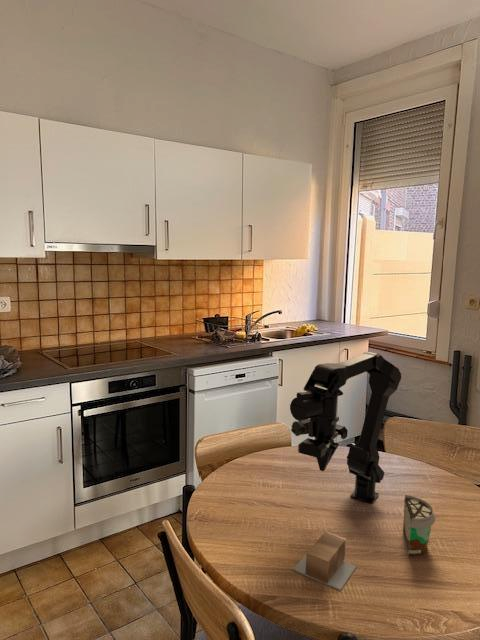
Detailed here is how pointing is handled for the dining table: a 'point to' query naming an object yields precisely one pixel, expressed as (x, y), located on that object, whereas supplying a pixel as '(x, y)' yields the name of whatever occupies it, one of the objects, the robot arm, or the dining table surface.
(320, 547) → the walnut block
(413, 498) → the food container
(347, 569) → the mat
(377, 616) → the dining table surface
